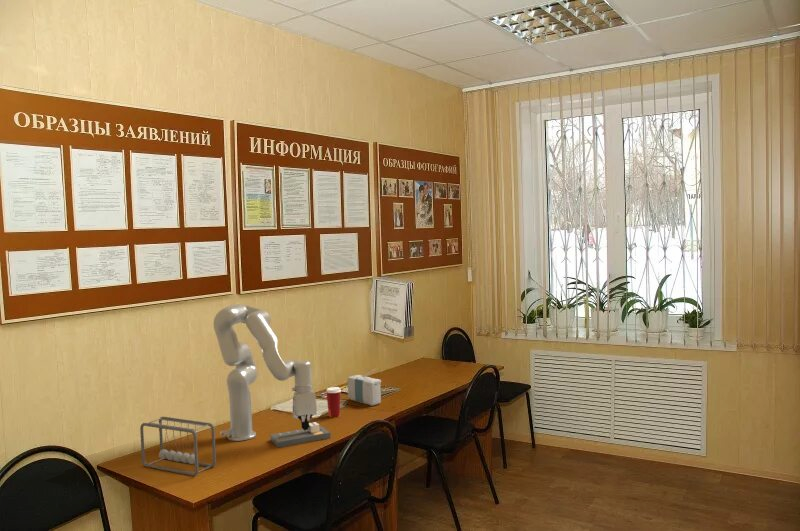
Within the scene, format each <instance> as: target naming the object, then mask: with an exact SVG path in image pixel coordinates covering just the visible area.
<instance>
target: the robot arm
mask: <svg viewBox="0 0 800 531" xmlns="http://www.w3.org/2000/svg"><path fill="white" fill-rule="evenodd" d="M271 320H272V319H271V315H270V314H269V313H268V311H266V310H264V309H260V308H257V307H253V306H250V305H249V306H248V305H246V304H241V303H240V304H233V305H229V306H226V307H224V308H222V309H221V310H219V311H218V312H217V313H216V315H215V316H214V319H213V329H214V332H215V336H216V339H217V342H218V345H219V349H220V352H221V356H222V359H223V361H224V363H225V365H227V366H228V367H235V368H234V369H232V370H231V371H230V372H229V373H228V375H227V378H226V386H227V391H228V400H229V401H228V402H229V418H230V419H229V420H230V427H228V429H226V430H219V434H220V436H224V437H227V440H229V441H233V442H243V441H249V440H251V439H253V438H255V437H256V436H257V432H256V431H255V430H253V414H252V413H253V412H252V411H253V410H252V396H251V391H250V387H249V386H250V385H252V384H253V383H255V381H256V380H257V378H258V369H257V366H256V362H255V360H254V355H253V353H252V349H251V348H250V346H249V345H248V344H247V343H245V342H242V341H239V339H238V335H237V333H236V331H235V329H234V328H233V326H234V325H237V324H246V327H247V329H248V330H249V332H250V334H251V335H252V336H253V338H254V339H255V342H257V344H258V346H259V348H260V350H261V354H262V358H263V361H264V363H265V365H266V368H268V371H269V372H270V373H271V375H272V376H273V378H274V379H276V380H277V381H280V382H281V381H282V382H284V381H286V380H288V379H290V378H291V377H294V387H292V388H291V391H292V392H293V398H292V418H293V419H297V420H300V422H301V423H300V424H301V429H303V430H308V427H309V423H310V421H311V418H312V417H314V416H317V414H318V413H317V412H318V406H317V399H316V398H317V397H316V394H315V390H313V378H312V377H313V376H312V363H311V361H310V360H300V361H299V360H291V359H286V360H283V359H282V358H281V356H280V354H279V352H278V342H279V341H278V340H279V339H278V336H277V335H276V333H275V332H274V330H273V329H272V328H271V325H270V324H271Z"/></svg>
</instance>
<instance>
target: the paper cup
mask: <svg viewBox="0 0 800 531" xmlns="http://www.w3.org/2000/svg"><path fill="white" fill-rule="evenodd" d="M341 392H342V390H341V388H340V387H338V386H331V387H328V388H327V387H326V390H325V393H326V403H327V411H328V412H327V413H328V417H329V418H331V417H336V418H339V417H341ZM338 416H339V417H338Z"/></svg>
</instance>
